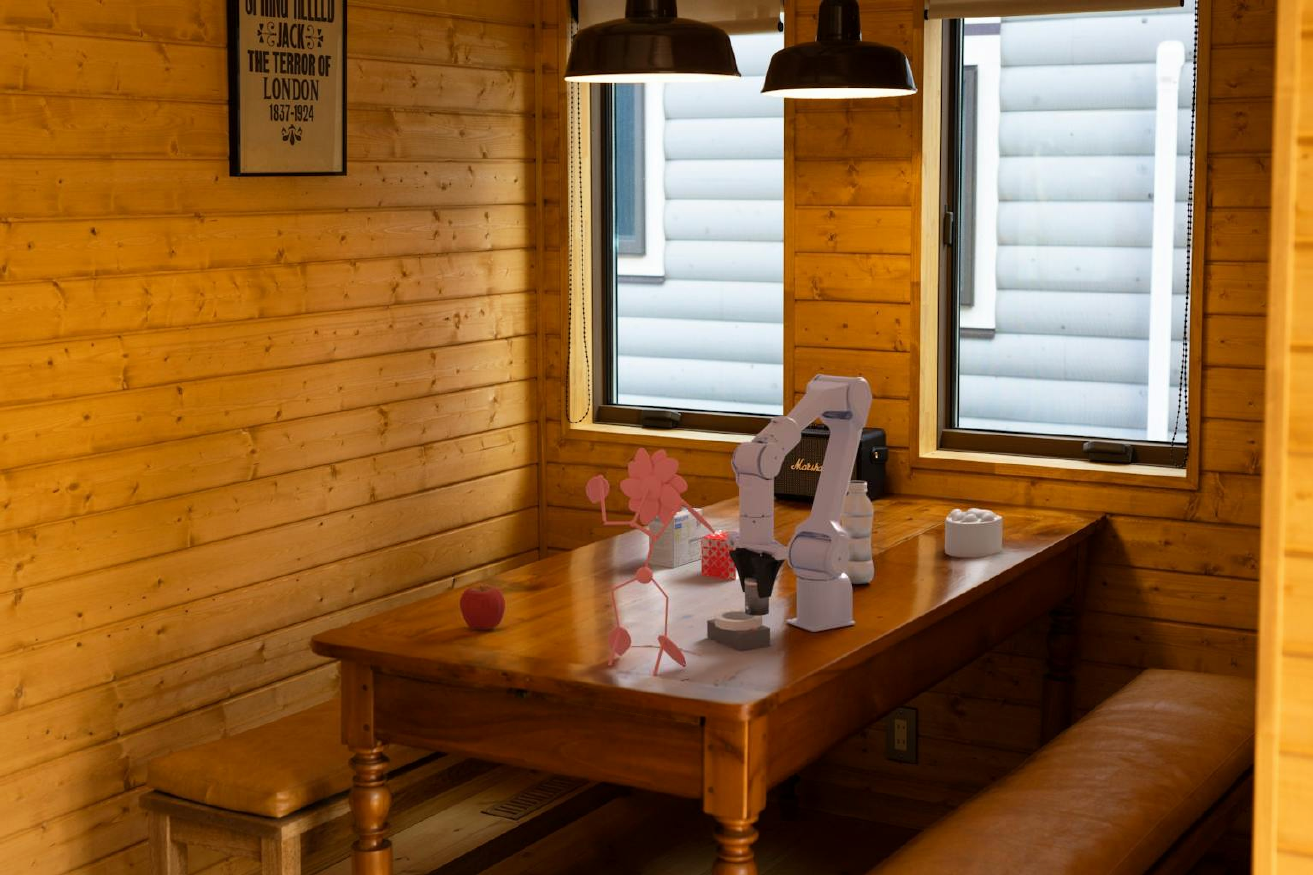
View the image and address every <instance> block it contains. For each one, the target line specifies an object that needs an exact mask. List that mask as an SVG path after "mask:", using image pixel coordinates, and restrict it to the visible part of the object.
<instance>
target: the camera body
mask: <svg viewBox="0 0 1313 875" xmlns="http://www.w3.org/2000/svg"><path fill="white" fill-rule="evenodd" d="M706 622H707V623H706V624H707V625H706V629H707V630H706V631H707V633H706V636H707V638H708V639H710V640H712V641H715V642H718V643H720V644H722V645H724V646H727V647H730V648H731V649H734V650H737V651H740V652H743V651H749V650H753V649H754V650H755V649H759V648H764V647H769V646H771V628H770V627H768V626H765V625H763V615H762V616H753V615H747V614H745V609H727V610H721V611H718V612H717V613H715V614H714V618H713V619H708V620H706Z"/></svg>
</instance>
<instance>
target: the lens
mask: <svg viewBox="0 0 1313 875" xmlns="http://www.w3.org/2000/svg"><path fill="white" fill-rule="evenodd" d="M744 583H745V593H744V610H745V614H747V615H753V616H762V617H763V616H766V615H769V613H770V597H767V598H759V596H758V591H757V578H756V575H749V576H746V577H745V580H744Z"/></svg>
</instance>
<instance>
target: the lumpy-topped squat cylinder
mask: <svg viewBox="0 0 1313 875" xmlns="http://www.w3.org/2000/svg"><path fill="white" fill-rule="evenodd" d="M944 526H945V527H944V528H945V531H944V533H945V534H944V536H945V537H944V538H945V539H944V553H945V554H947V555H949V556H951V557H956V558H979V557H987V556H991V555H995V554H998V553H999V552H1000V553H1001V551H1002V550H1003V549H1002V548H1003V547H1002V544H1003V517H1002V516H1000V515H997V514H996V513H995V512H993V511H991V510H988V509H980V508H974V507H973V508H968V510H967V511H965V512H963V510H961V509H959V508H955V509H952V510H951V512H950V513H949V515H947V516H946V517H945V525H944Z"/></svg>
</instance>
